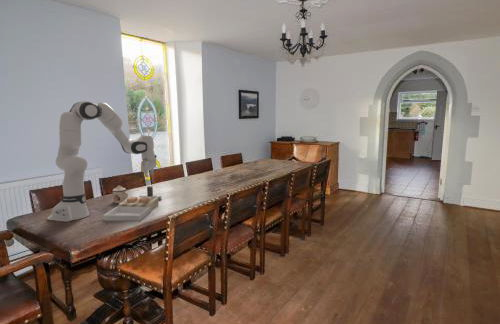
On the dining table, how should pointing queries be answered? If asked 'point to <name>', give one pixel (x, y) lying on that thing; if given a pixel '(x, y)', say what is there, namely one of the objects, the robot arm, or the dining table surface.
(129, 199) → the tile left
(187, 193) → the dining table surface
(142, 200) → the tile right
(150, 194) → the scraper
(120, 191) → the teacup with lid
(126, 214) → the box
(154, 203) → the beige rectangular tray
